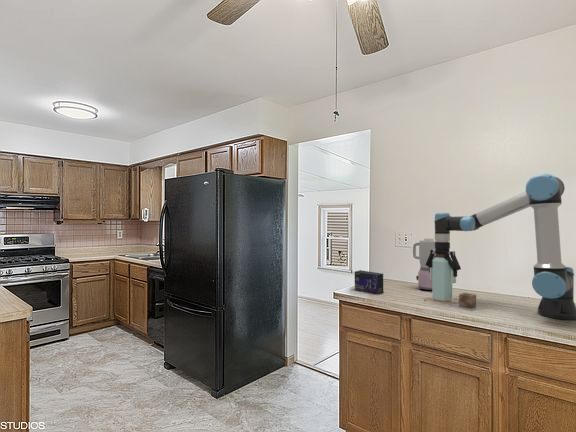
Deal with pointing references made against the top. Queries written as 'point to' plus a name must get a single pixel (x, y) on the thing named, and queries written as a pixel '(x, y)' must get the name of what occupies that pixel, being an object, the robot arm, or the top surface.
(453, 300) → the terracotta tile
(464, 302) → the walnut block
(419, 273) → the blender
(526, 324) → the top surface
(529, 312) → the top surface
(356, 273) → the black digital alarm clock
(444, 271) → the water bottle
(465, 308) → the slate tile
